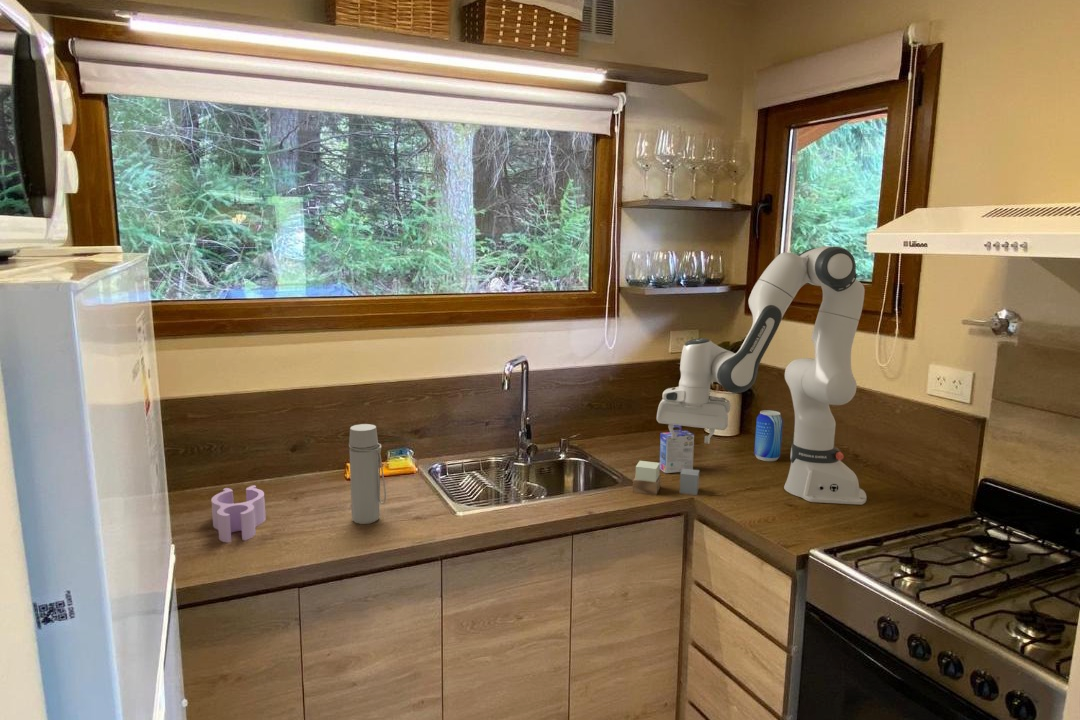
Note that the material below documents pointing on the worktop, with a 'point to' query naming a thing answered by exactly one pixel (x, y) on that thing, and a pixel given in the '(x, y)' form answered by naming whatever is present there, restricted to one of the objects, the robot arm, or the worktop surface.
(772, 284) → the robot arm
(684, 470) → the grey block
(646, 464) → the cream square block
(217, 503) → the clip
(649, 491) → the tower base
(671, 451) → the ink cartridge box
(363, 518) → the water bottle
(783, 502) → the worktop surface
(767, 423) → the beer can
